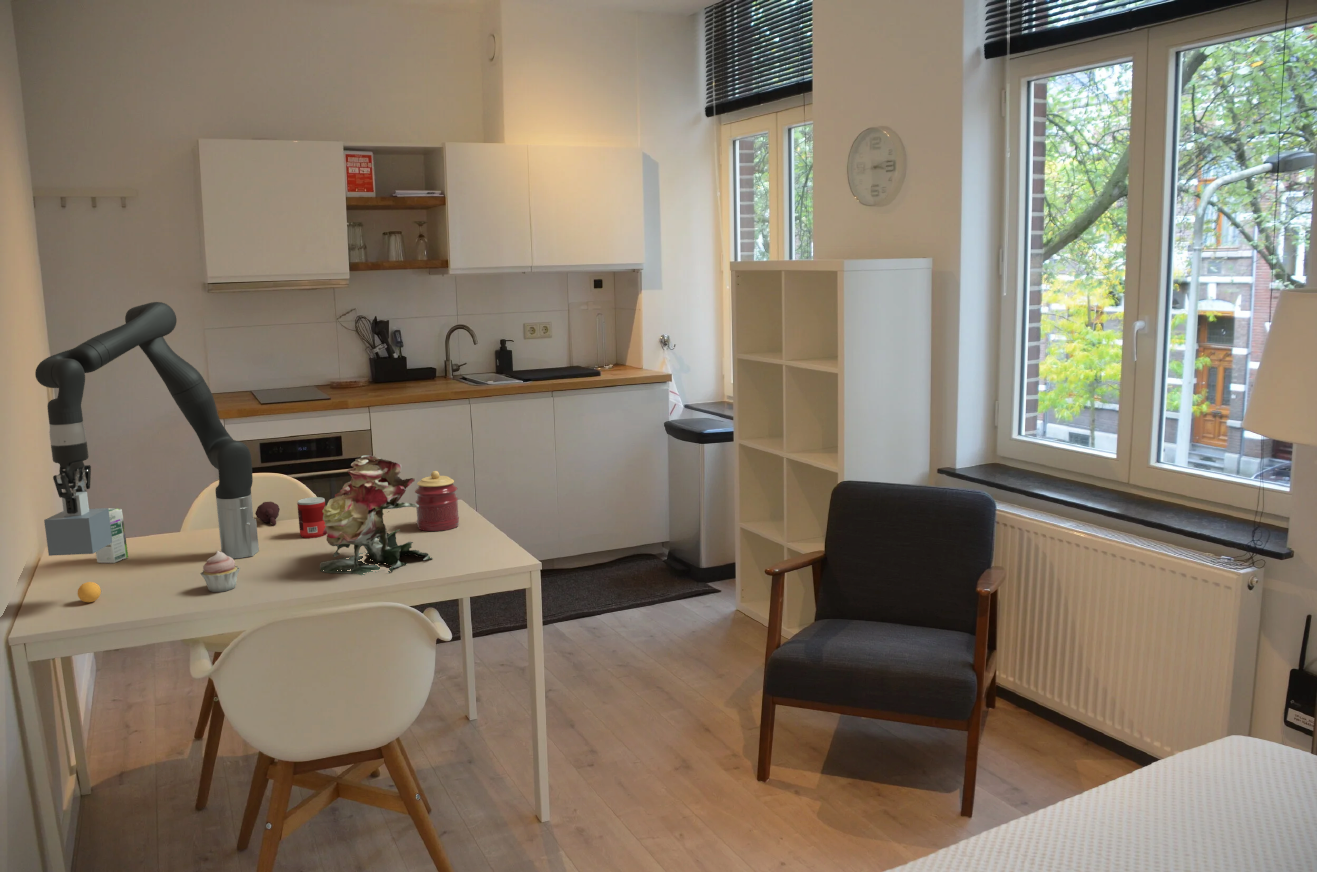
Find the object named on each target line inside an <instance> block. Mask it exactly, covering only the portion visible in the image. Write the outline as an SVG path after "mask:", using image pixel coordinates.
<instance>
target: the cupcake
mask: <svg viewBox="0 0 1317 872" xmlns="http://www.w3.org/2000/svg"><path fill="white" fill-rule="evenodd" d="M240 569H241V567H239V566H238V565H236V562H235V558H234V559H233V558H231V557H229V556H226V555H225V554H224V553H222V552H221V550H220V551H219V550H216V551H215V555H213V556H211V557H209V558H208V559H207V560H206V563H204V565H202V572H200V573H199V574H200V575H201V576H202V578H203V579H204V582H205V585H206V586H207V589H208V591H209V592H211V593H212V592H213V593H222V592H228V591H231V590H233V589H234V588H236V585H237V579H238V576H239V572H240Z"/></svg>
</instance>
